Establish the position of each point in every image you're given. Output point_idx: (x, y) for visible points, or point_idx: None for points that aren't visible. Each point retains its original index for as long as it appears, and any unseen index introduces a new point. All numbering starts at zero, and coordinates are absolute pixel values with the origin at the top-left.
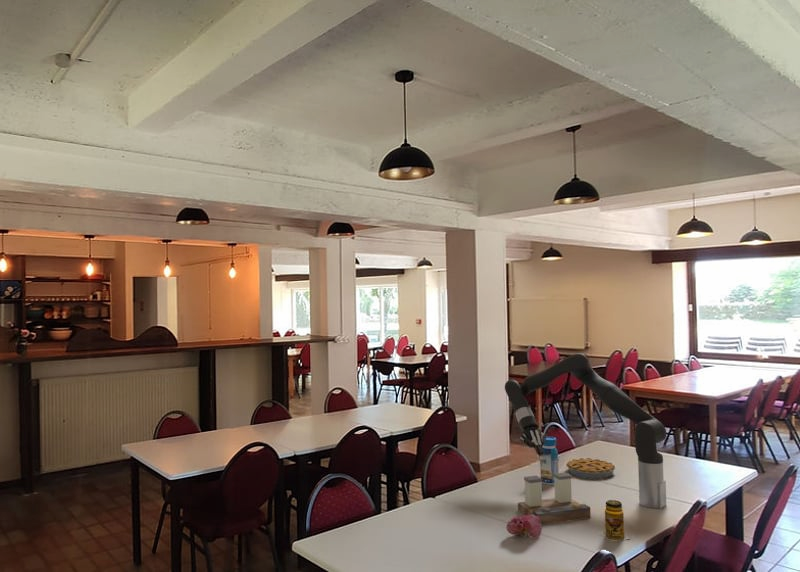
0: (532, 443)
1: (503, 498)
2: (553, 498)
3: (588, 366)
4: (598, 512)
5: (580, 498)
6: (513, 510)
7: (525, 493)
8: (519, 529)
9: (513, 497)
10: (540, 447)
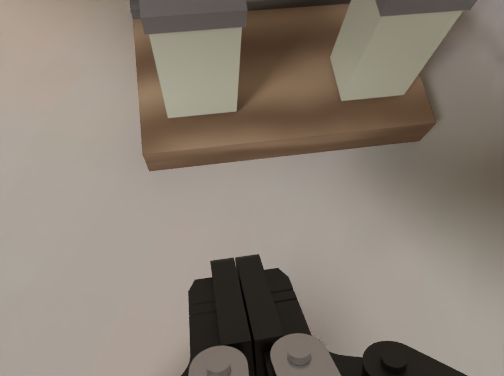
0: (390, 349)
1: (466, 324)
2: (232, 140)
3: None
4: (65, 50)
5: (28, 238)
6: (439, 144)
7: (424, 60)
8: None
9: (405, 330)
10: (232, 312)
